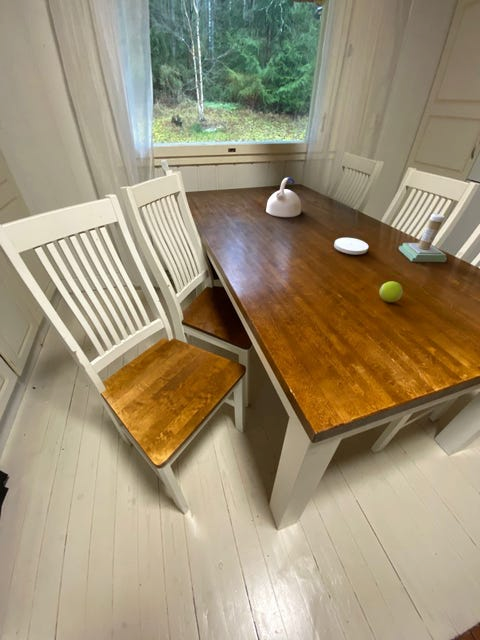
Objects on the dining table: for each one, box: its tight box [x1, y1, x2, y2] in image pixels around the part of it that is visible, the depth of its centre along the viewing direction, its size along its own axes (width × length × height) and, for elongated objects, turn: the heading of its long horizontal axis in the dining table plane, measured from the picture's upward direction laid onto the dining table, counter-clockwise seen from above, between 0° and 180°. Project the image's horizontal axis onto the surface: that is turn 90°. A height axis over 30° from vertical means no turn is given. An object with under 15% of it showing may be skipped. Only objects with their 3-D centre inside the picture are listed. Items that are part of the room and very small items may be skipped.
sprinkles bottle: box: [418, 213, 446, 250], centre depth 110 cm, size 5×5×13 cm
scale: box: [398, 242, 448, 263], centre depth 115 cm, size 14×12×3 cm
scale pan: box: [408, 242, 442, 254], centre depth 115 cm, size 9×9×2 cm
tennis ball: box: [378, 280, 404, 303], centre depth 88 cm, size 7×7×7 cm
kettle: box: [265, 176, 302, 218], centre depth 153 cm, size 20×21×18 cm
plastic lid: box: [333, 237, 369, 255], centre depth 119 cm, size 14×14×2 cm
